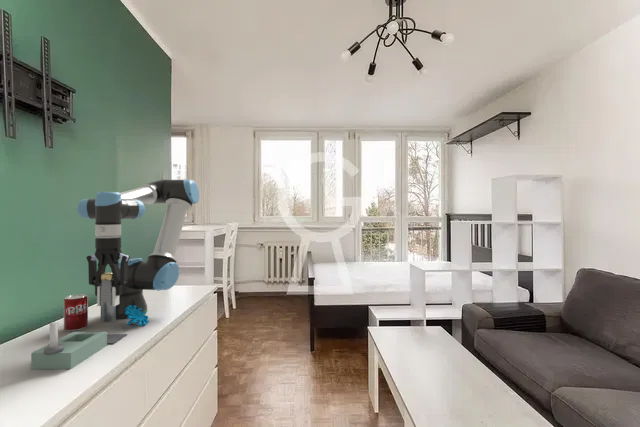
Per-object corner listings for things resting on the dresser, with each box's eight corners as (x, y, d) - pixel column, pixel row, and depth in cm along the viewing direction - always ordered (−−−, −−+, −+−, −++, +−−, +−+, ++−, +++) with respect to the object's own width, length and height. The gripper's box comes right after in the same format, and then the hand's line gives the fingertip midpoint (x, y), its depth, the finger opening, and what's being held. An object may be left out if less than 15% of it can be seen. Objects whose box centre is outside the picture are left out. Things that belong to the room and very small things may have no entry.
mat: (104, 335, 117) (104, 334, 117) (127, 335, 118) (127, 334, 118) (89, 344, 109) (89, 343, 109) (113, 344, 110) (113, 343, 110)
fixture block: (73, 345, 108) (73, 307, 108) (107, 345, 108) (106, 307, 108) (27, 371, 91) (27, 326, 91) (67, 371, 91) (67, 325, 91)
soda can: (91, 327, 125) (91, 295, 125) (69, 333, 119) (69, 300, 119) (82, 323, 129) (82, 293, 129) (60, 329, 123) (60, 297, 123)
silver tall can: (105, 318, 115) (105, 272, 115) (118, 318, 115) (118, 272, 115) (97, 322, 111) (97, 274, 111) (110, 322, 111) (110, 274, 111)
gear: (138, 325, 122) (122, 305, 124) (127, 337, 122) (110, 316, 124) (156, 320, 133) (140, 301, 135) (145, 330, 133) (130, 311, 135)
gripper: (74, 237, 109) (74, 308, 109) (127, 237, 109) (127, 308, 110) (90, 236, 117) (90, 302, 117) (139, 236, 117) (139, 302, 117)
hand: (108, 304), depth 113 cm, fingers closed on silver tall can, 4 cm apart
